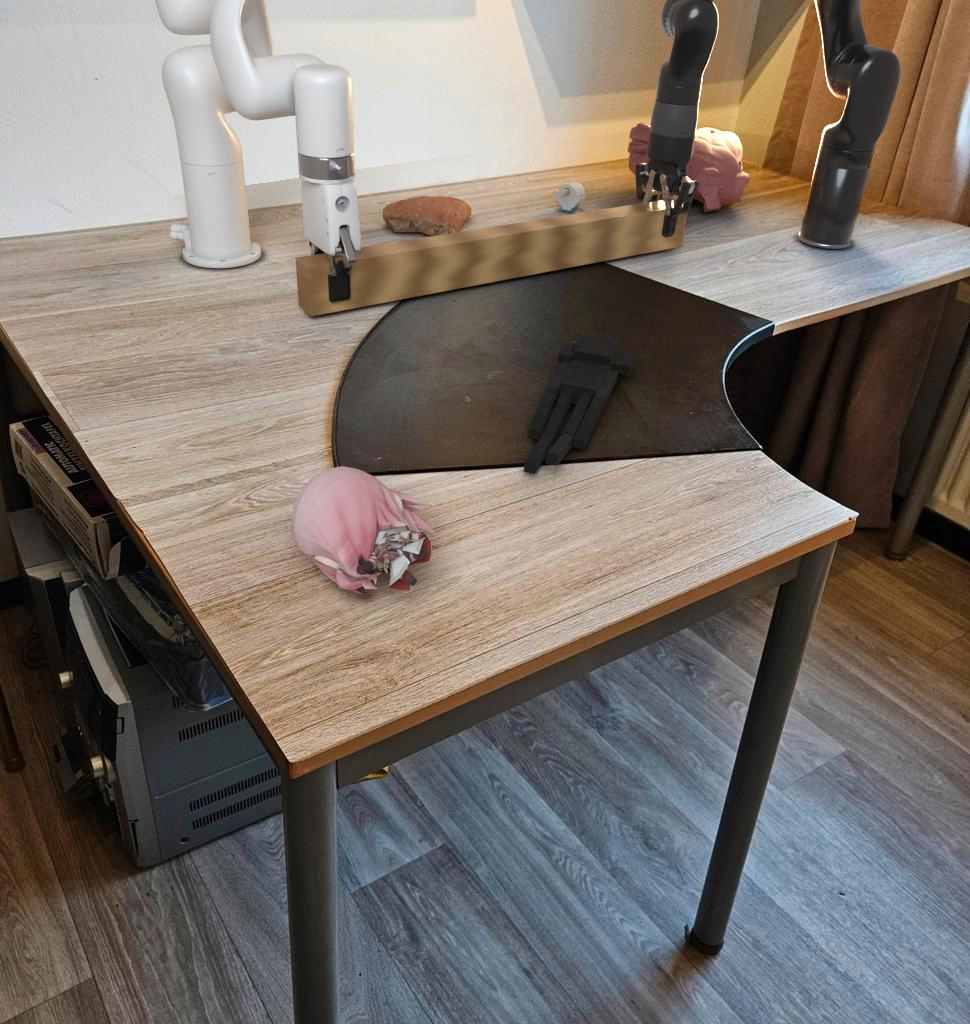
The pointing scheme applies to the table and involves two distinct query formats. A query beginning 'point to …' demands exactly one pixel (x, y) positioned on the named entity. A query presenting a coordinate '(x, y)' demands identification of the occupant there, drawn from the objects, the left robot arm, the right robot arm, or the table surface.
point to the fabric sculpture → (703, 164)
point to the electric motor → (570, 196)
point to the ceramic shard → (427, 215)
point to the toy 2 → (575, 398)
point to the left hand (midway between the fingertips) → (332, 292)
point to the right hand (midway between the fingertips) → (657, 231)
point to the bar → (487, 255)
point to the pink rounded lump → (359, 529)
